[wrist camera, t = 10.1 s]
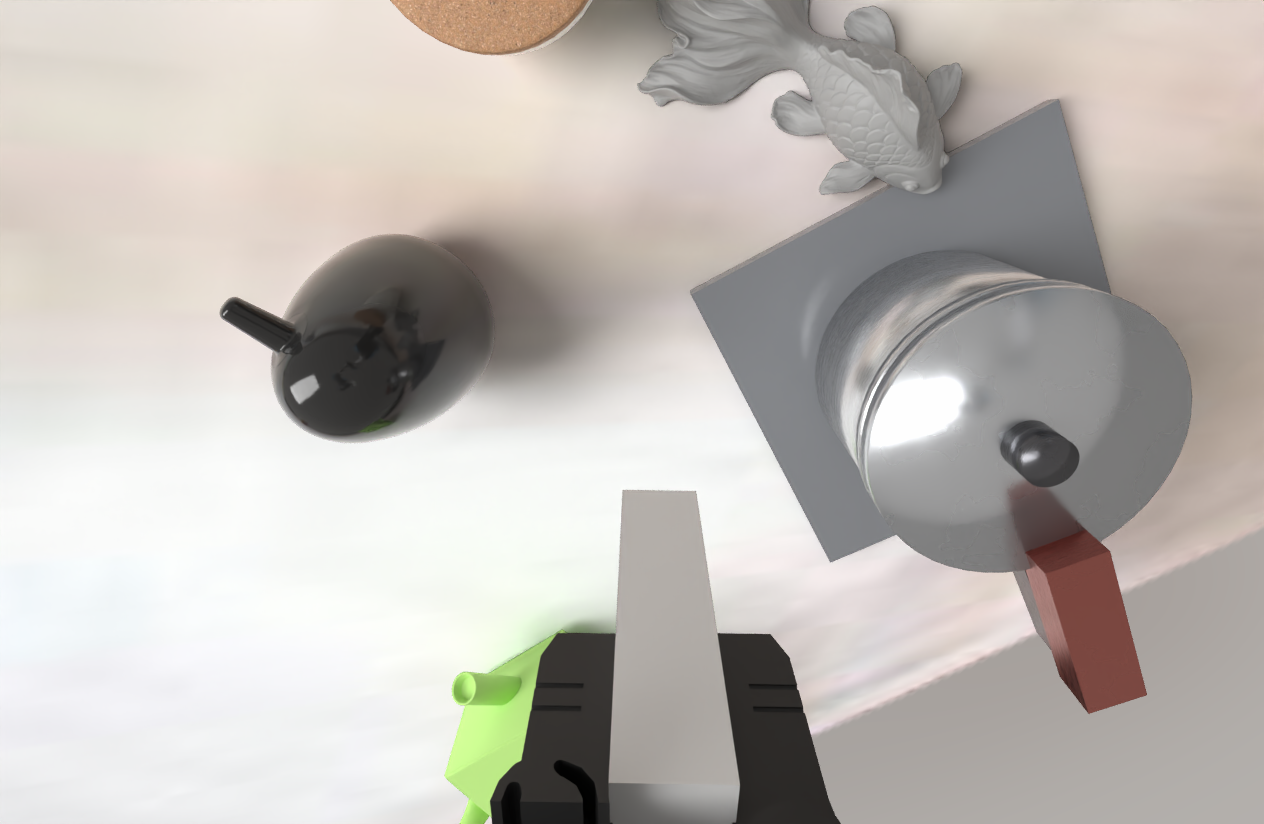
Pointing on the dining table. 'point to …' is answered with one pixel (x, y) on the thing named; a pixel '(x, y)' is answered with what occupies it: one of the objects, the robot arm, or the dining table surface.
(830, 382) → the pot
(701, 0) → the goldfish
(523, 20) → the lidded jar
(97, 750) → the dining table surface
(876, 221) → the trivet
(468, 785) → the kettle
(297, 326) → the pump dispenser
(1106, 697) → the lid
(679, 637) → the robot arm
